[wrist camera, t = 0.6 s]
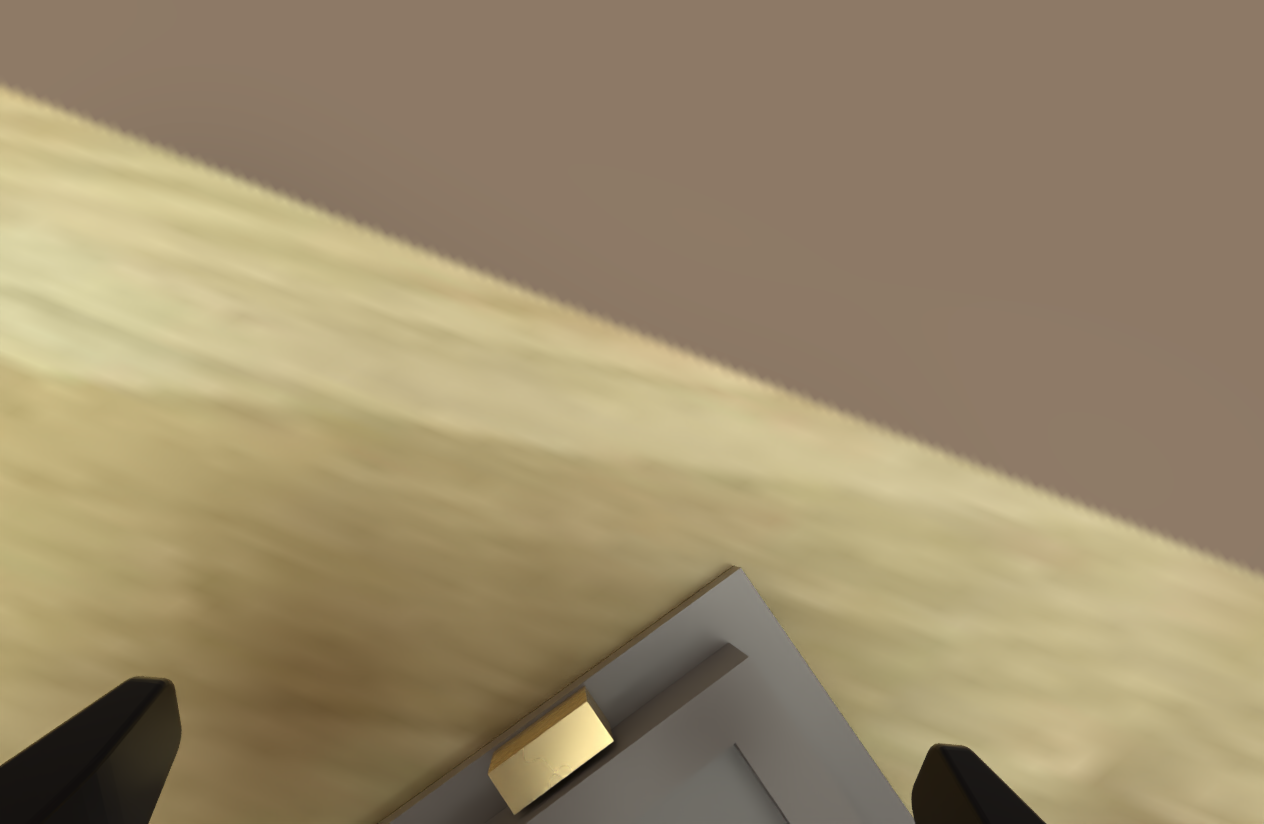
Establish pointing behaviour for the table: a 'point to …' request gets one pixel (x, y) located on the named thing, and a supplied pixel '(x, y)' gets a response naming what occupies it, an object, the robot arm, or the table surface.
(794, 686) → the gray square tray
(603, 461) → the table surface
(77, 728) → the robot arm
